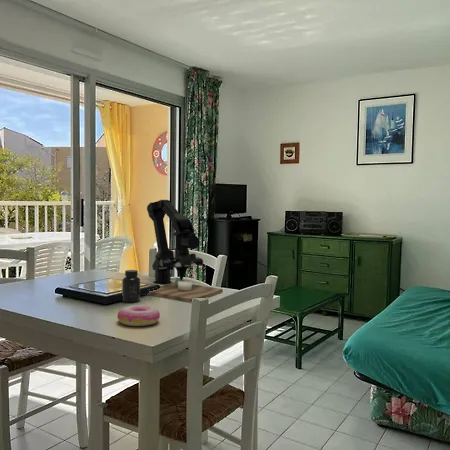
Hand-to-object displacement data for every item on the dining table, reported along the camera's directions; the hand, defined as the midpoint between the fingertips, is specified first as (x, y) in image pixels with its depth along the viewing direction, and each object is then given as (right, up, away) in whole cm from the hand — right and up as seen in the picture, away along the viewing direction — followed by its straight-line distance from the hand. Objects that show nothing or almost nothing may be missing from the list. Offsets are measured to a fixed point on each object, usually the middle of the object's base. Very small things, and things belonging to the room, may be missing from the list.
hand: (181, 281), depth 202 cm
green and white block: (+1, -2, -5) cm, 5 cm away
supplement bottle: (-18, -5, -24) cm, 30 cm away
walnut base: (+2, -4, -8) cm, 9 cm away
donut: (-9, -8, -52) cm, 54 cm away
